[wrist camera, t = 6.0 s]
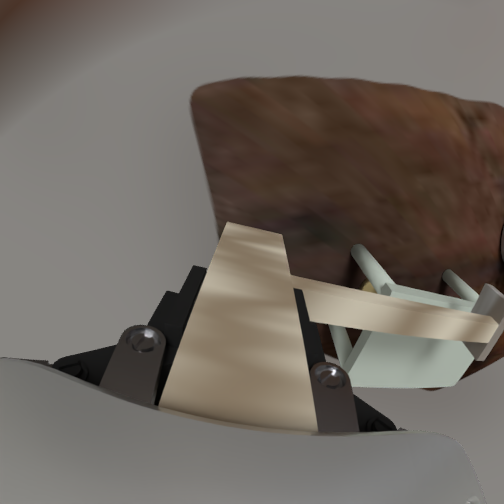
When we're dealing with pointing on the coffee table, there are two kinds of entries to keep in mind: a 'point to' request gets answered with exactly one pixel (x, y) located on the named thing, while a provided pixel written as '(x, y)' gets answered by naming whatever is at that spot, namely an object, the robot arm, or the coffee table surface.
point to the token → (367, 286)
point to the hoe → (289, 333)
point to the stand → (404, 339)
